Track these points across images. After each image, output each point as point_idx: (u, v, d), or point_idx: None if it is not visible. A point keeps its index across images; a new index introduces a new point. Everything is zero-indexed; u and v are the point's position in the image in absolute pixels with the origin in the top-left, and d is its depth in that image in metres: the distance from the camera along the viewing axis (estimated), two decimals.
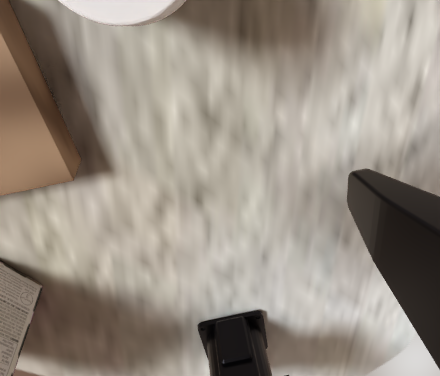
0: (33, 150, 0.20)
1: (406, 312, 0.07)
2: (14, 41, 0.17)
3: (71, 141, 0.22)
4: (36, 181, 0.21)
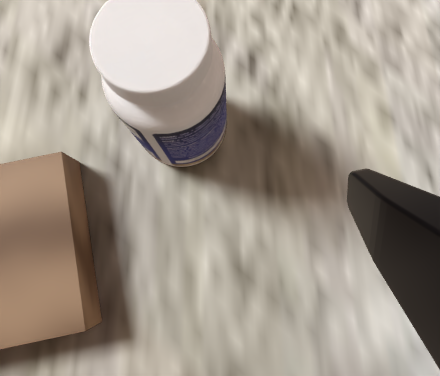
0: (55, 290, 0.19)
1: (406, 312, 0.07)
2: (73, 191, 0.21)
3: (97, 296, 0.21)
4: (46, 330, 0.19)
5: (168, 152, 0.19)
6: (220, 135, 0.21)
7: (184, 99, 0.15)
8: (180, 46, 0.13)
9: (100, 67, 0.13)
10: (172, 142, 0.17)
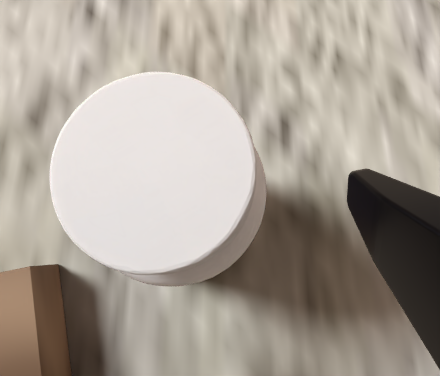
0: None
1: (406, 312, 0.07)
2: (47, 316, 0.15)
3: None
4: None
5: None
6: None
7: None
8: (205, 188, 0.08)
9: (67, 225, 0.08)
10: None
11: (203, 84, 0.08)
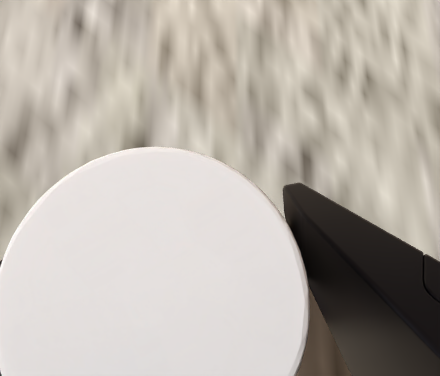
0: None
1: (330, 328, 0.07)
2: None
3: None
4: None
5: None
6: None
7: None
8: (230, 336, 0.05)
9: None
10: None
11: (226, 167, 0.05)
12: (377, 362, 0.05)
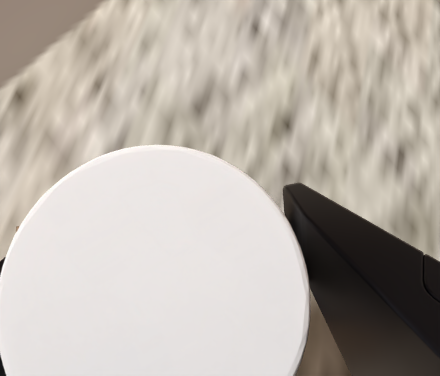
0: None
1: (330, 328, 0.07)
2: None
3: None
4: None
5: None
6: None
7: None
8: (232, 332, 0.05)
9: None
10: None
11: (227, 165, 0.05)
12: (377, 362, 0.05)
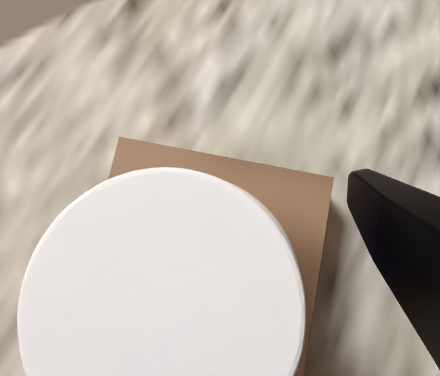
0: None
1: (406, 312, 0.07)
2: None
3: None
4: None
5: None
6: None
7: None
8: (235, 341, 0.05)
9: None
10: None
11: (230, 187, 0.06)
12: None
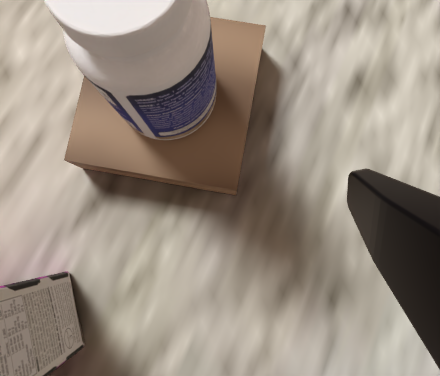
0: (221, 145, 0.20)
1: (406, 312, 0.07)
2: None
3: None
4: (202, 176, 0.20)
5: (149, 121, 0.16)
6: (209, 102, 0.18)
7: (160, 50, 0.12)
8: None
9: (52, 7, 0.11)
10: (150, 106, 0.15)
11: None
12: None
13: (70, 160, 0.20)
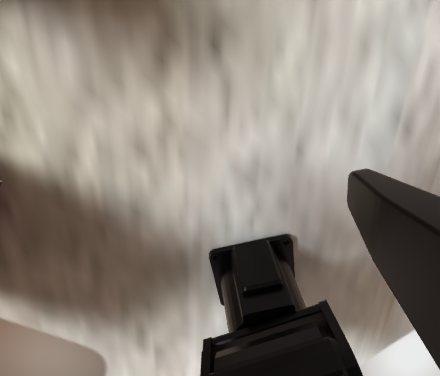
0: None
1: (406, 312, 0.07)
2: None
3: None
4: None
5: None
6: None
7: None
8: None
9: None
10: None
11: None
12: None
13: None
